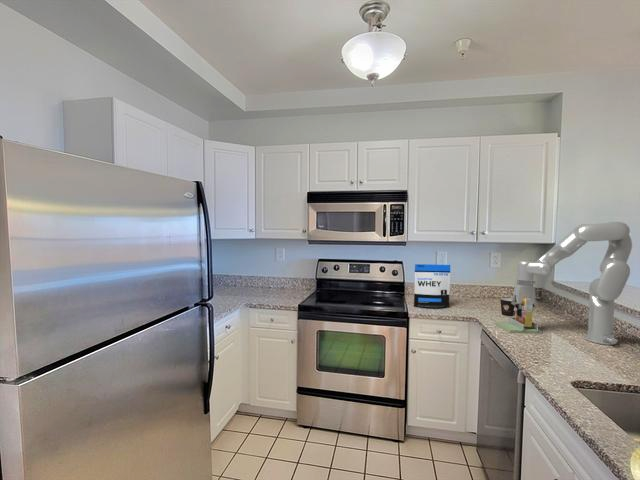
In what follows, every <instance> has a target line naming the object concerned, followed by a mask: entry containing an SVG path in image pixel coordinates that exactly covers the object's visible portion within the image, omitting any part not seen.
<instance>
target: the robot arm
mask: <svg viewBox="0 0 640 480" xmlns="http://www.w3.org/2000/svg"><path fill="white" fill-rule="evenodd" d="M630 233H631V231H630V227H629V225H627V224H626V223H625V222H622V221H609V222H602V223H586V224H585V223H582V224H579V225H578V226H576V227H575V228H573V230H571V231H570V232H568V234H567V235H566V236H564V237H563V238H562V239H560V240H559V242H557V243H556V244H555V245H553V247H551V248H550V249H549V250H548V251H547V252H546V253H544V254H543V255H542V256H540V258H539V259H537V260H536V261H531V260H519V261H518V263H517V275H516V277H517V279H516V280H517V281H516V284H515V285H514V288H513V295H512V299H513V300H512V301H511V304H513V305H514V306H515V307H514V308H515V309H516V308H517V315H518V316H520V317H521V315H522V310H521V306H522V304H523V299H524V298H530V299H533V308H534V307H535V306H537V305H538V301H537V300H536V289H535V286H534V284H536V281H535V280H534V275H535V276H539V277H540V276H541V277H546V276H548V275H550V274H551V273H552V268H553V267H555V266H556V265H557V264H558V263H559V262H561V261H563V260H564V259H567V258H569V257H571V256H572V255H574V254H575V253H576V252H577V251H579V250H580V249H581V248H582V247H583V246H585V245H586V244H587V243H589V242H603V241H604V242H605V241H608V246H607V250H606V251H605V255H604V257H603V259H602V261H601V263H600V264H599V265H600V266H599V271H600V273H601V275H600V276H599V278H595V279H593V280H592V281H591V282H590V284H589V287H588V292H589V294H588V296H589V305H588V306H589V307H588V319H587V320H588V323H587V324H588V325H587V334H584V335H583V339H585V341H588V342H591V343H595V344H599V345H607V346H612V345H613V346H614V345H617V343H618V341H619V340H618V339H616V338H615V335H614V334H613V332H614V315H615V300H616V299H619V297H620V296H621V294H622V292H623V290H624V288H625V286H626V284H627V281H628V280H629V277H630V274H631V268H630V266H629V264H628V260H629V258H630V255H631V252H632V248H633V241H632V238H631V236H630ZM516 302H517V304H516Z"/></svg>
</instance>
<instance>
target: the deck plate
mask: <svg viewBox="0 0 640 480" xmlns="http://www.w3.org/2000/svg"><path fill="white" fill-rule="evenodd" d="M493 324H494V326H497V327H499V328H500V329H502V330H504V331H506V332H507V333H509V334H540V333H542V332H543V331H542V330H541V329H539V328H538V331H536V330H534V329H532V328H530V327H525V326H524V331H522V330H520V329H518V328H516V327H515V326H513V325H511V324H509V321H497V320H496V321H494V323H493ZM542 334H543V333H542Z"/></svg>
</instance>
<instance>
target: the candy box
mask: <svg viewBox="0 0 640 480" xmlns="http://www.w3.org/2000/svg"><path fill="white" fill-rule="evenodd" d="M515 303H516V304H517V302H515ZM533 308H534V307H533V299H530V298H524V299H523V304H522V306H521V310H522V315H521V317H520V316H518V315H517V308H516V307H515V310H516V311H515V312H514V313H515V315H514V317H515V320H516V321H518V322H520V323H522V324H524V326H525V327H532V322H533V312H534V311H533Z"/></svg>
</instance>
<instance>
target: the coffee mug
mask: <svg viewBox="0 0 640 480" xmlns="http://www.w3.org/2000/svg"><path fill="white" fill-rule="evenodd" d="M499 300H500V301H499V302H500V309H501V310H500V312H501V315H502V316H503V317H504V316H506V317H513V316H514V313H516V309H515V308H516V307H515V306H514V305H513V304H511V301H512V300H513V298H509V297H501V298H500V299H499Z"/></svg>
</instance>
